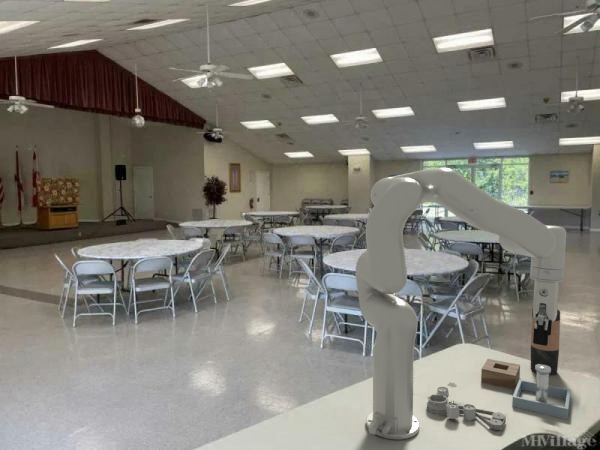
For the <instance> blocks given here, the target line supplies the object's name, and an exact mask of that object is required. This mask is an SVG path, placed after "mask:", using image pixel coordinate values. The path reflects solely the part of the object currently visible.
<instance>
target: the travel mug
mask: <svg viewBox="0 0 600 450" xmlns="http://www.w3.org/2000/svg"><path fill="white" fill-rule="evenodd" d="M531 313H532V314H531V332H530V334H531V335H530V371H532V372H534V373H535V374H537V371H536V370H535V365H537V364H542V365H547V366H549V367H550V368H551V373H549V377H550V376H556V375H557V374H558V368H559V367H558V365H559V354H560V333H561V332H560V331H561V330H560V329H561V310H559V309H557V316H556V319H555V321H553V322H552V326H551V335H548V344H547V346H544V345H539V344H534V343H533V336H534V328H535V321H536V319H535V318H534V317H533V308H532V312H531Z"/></svg>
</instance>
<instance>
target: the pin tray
mask: <svg viewBox="0 0 600 450" xmlns="http://www.w3.org/2000/svg"><path fill="white" fill-rule="evenodd" d="M522 391H526V392H532V393H535V394H536V381H529V380H523V379H520V378H519V381H518V383H517V386H516V389H515V390H514V392H513V395H512V400H511V402H512V403H511V407H514V408H519V409H523V410H527V411H532V412H536V413H538V414H539V413H540V414H544V415H548V416H551V417H556V418H561V419H566V420H568V417H569V410H570V402H571V389H569V388H565V387H559V386H554V385H549V384H548V397H549V396H550V397H553V398H554V397H555V398H558V399H559V398H560V399H565V403H564V406H561V405H557V404H552V403H544V402H539V401H536V399H535V400H534V399H529V398H524V397H521V396H520V395H521V392H522Z"/></svg>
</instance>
